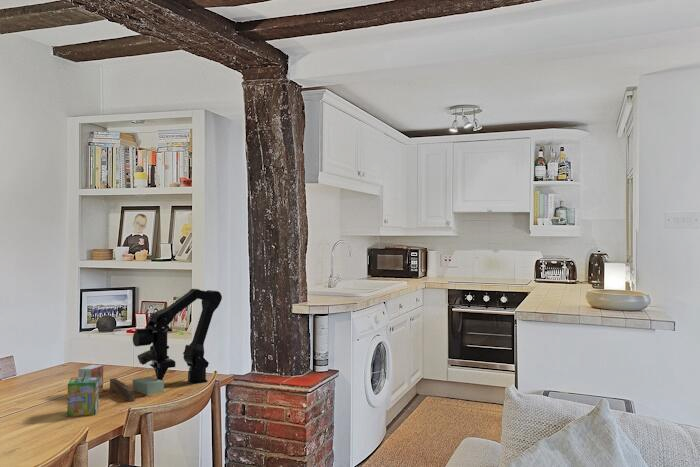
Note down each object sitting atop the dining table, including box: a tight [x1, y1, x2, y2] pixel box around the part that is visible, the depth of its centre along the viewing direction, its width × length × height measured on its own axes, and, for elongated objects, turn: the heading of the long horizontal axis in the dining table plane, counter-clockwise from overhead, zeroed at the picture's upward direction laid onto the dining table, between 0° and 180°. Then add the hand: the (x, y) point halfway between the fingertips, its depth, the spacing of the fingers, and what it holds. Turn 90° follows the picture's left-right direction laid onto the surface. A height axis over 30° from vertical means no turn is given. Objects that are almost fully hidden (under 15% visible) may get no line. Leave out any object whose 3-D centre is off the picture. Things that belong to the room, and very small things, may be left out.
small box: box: [78, 364, 104, 394], centre depth 230 cm, size 8×6×10 cm
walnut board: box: [109, 377, 136, 403], centre depth 229 cm, size 2×24×4 cm, turn 38°
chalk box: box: [66, 369, 100, 418], centre depth 205 cm, size 9×9×15 cm
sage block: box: [132, 376, 165, 396], centre depth 235 cm, size 7×12×4 cm, turn 47°
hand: (159, 382), depth 238 cm, fingers closed
